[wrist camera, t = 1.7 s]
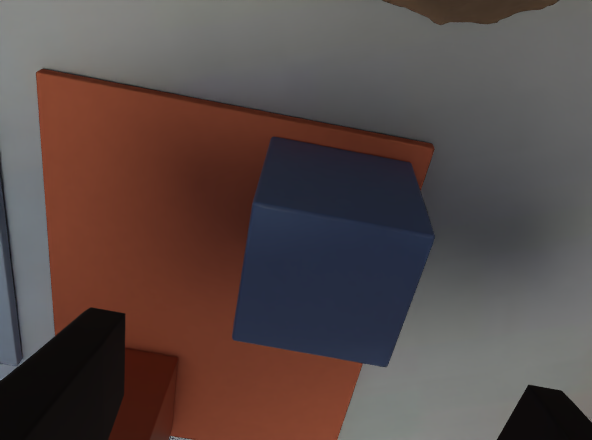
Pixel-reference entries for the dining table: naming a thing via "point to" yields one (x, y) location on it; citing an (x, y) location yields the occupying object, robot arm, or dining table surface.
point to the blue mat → (7, 300)
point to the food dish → (470, 9)
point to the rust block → (146, 397)
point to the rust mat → (184, 245)
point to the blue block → (331, 253)
